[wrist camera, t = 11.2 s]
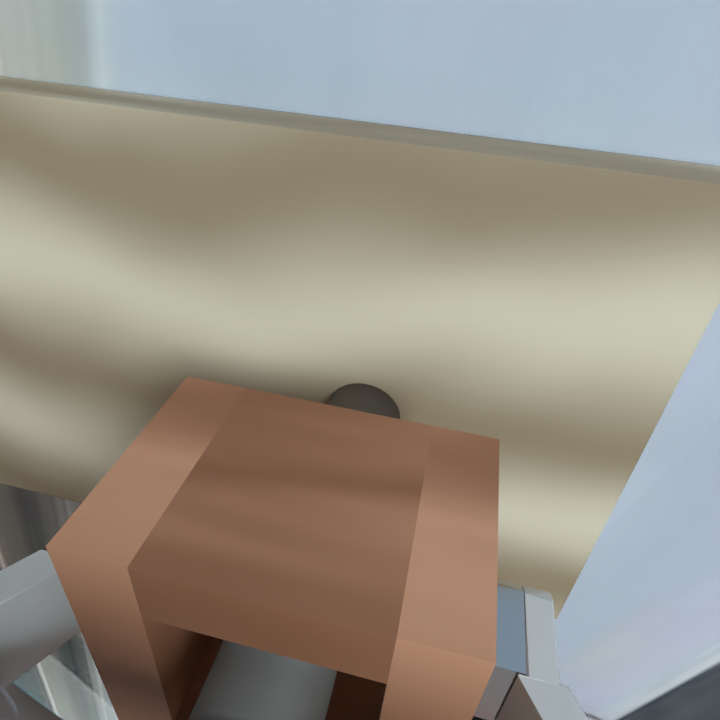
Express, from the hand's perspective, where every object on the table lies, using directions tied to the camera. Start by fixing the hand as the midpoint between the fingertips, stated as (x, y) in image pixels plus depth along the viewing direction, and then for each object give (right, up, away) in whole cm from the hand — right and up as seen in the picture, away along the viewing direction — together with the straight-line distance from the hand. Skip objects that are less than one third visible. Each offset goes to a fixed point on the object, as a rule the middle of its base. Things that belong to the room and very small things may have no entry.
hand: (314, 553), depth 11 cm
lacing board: (-6, +5, +6) cm, 10 cm away
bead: (0, +1, +1) cm, 1 cm away
